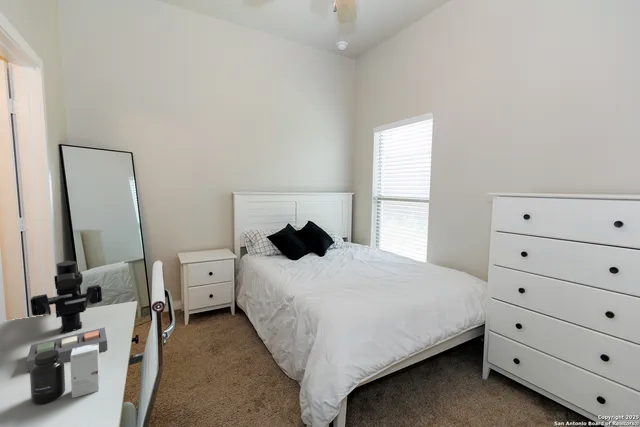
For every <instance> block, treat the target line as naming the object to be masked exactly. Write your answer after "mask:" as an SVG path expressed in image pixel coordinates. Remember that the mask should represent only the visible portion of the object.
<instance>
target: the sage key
mask: <svg viewBox="0 0 640 427" xmlns="http://www.w3.org/2000/svg"><path fill="white" fill-rule="evenodd" d="M54 349H55V345H54V341H53V342H49V343H44V344H40V345H38V347H37V354H38V353H42V352H45V351H49V350H54Z"/></svg>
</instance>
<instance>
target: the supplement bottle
mask: <svg viewBox="0 0 640 427" xmlns="http://www.w3.org/2000/svg"><path fill="white" fill-rule="evenodd" d="M34 365H35V366H34V367H33V368H32V369H31V371H30V372H29V381H30V382H29V383H30V397H31V398H30V399H31V403H32V404H33V405H38V406H39V405H46V404H49V403H51V402H54V401H57V400H58V399H59V398H61V397H62V396H63V395H64V394H65V393H66V379H65V378H66V377H65V362H63V361H62V360H61V359H59V352H58V351H57V350H49V351H45V352H42V353H40V354H38V355H37V356H36V357H35V362H34Z"/></svg>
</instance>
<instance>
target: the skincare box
mask: <svg viewBox="0 0 640 427" xmlns="http://www.w3.org/2000/svg"><path fill="white" fill-rule="evenodd" d="M100 371H101V370H100V352H99V344H98V343H97V344H92V345H86V346H82V347H78V348H73V349H72V352H71V355H70V382H71V383H70V386H71V387H70V388H71V398H72V399H73V398H77V397H81V396H84V395H85V396H86V395H89V394H91V393H95V392H98V391H99V390H100V383H101V379H100V378H101V375H100V374H101V372H100Z"/></svg>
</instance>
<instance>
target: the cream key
mask: <svg viewBox="0 0 640 427" xmlns="http://www.w3.org/2000/svg"><path fill="white" fill-rule="evenodd" d="M74 344H78V341H77V336H74V337H69V338H65V339H62V347H66V346H70V345H74Z"/></svg>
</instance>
